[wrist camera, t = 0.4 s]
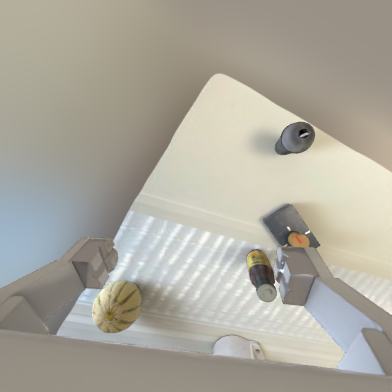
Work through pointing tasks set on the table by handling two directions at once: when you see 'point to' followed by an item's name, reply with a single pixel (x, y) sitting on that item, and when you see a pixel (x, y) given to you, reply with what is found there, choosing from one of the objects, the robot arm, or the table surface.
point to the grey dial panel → (288, 226)
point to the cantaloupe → (117, 306)
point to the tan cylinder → (298, 240)
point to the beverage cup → (295, 138)
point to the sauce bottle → (261, 275)
